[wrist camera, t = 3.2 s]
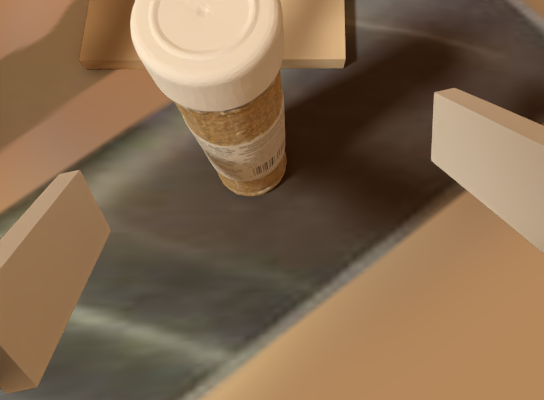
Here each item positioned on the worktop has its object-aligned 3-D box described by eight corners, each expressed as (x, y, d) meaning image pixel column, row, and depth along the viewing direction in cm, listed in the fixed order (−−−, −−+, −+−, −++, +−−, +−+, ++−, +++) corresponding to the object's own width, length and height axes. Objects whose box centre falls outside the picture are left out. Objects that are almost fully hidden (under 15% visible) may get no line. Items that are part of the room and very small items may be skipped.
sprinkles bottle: (263, 119, 24) (232, -80, 11) (300, 175, 23) (314, 28, 10) (203, 154, 24) (98, -10, 11) (238, 212, 23) (168, 109, 10)
